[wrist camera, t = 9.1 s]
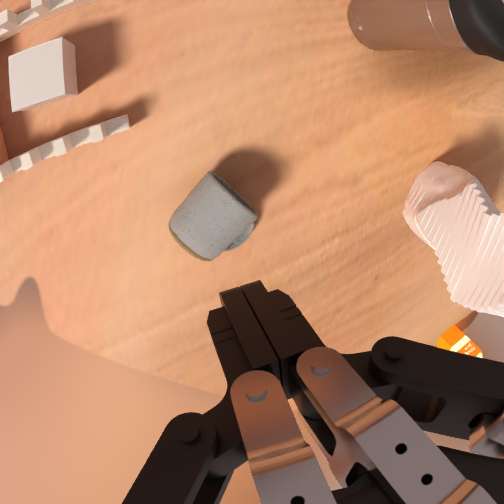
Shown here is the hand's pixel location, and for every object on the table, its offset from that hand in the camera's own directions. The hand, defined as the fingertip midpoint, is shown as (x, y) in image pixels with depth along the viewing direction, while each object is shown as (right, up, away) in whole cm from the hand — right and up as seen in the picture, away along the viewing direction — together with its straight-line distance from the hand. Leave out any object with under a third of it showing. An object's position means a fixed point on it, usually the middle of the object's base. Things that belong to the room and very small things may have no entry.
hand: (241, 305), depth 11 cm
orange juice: (+66, -27, +75) cm, 103 cm away
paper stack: (+35, +9, +42) cm, 55 cm away
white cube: (-22, +21, +13) cm, 33 cm away
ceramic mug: (-4, +7, +27) cm, 29 cm away
